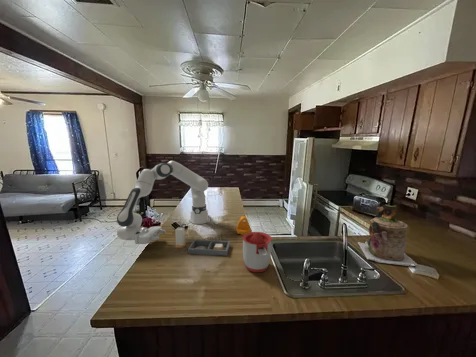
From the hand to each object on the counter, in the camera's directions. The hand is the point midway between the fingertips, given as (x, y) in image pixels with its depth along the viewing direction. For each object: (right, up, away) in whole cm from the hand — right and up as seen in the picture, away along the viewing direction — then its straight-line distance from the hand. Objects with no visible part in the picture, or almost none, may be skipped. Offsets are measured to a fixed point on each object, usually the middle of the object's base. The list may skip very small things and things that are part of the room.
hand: (162, 234), depth 140 cm
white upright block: (+12, -7, 0) cm, 14 cm away
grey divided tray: (+32, -8, -4) cm, 33 cm away
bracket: (+54, -4, +22) cm, 59 cm away
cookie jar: (+139, -10, -9) cm, 140 cm away
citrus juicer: (+60, -12, -24) cm, 66 cm away
